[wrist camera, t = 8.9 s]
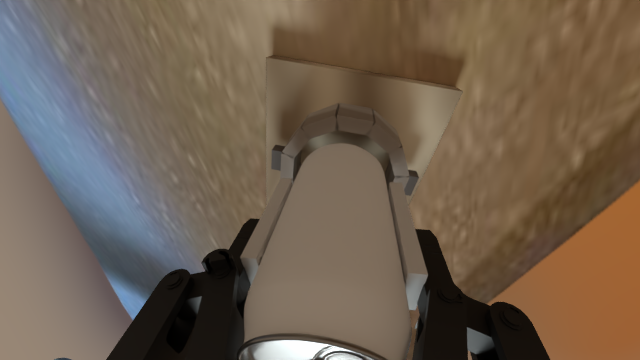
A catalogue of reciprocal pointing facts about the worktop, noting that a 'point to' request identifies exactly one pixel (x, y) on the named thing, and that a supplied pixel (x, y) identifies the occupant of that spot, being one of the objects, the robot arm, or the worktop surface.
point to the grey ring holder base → (352, 118)
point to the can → (331, 268)
